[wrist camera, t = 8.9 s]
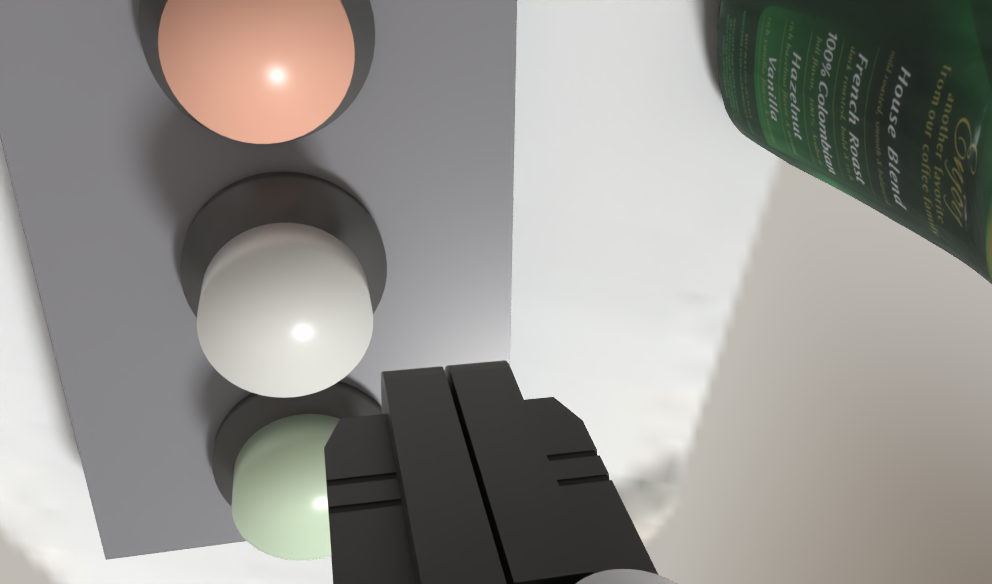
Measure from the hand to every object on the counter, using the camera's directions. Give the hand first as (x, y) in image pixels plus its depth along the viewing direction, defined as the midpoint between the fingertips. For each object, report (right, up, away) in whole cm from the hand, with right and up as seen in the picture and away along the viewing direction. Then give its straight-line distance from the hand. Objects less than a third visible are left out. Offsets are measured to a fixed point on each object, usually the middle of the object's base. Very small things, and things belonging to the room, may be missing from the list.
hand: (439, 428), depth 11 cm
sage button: (-6, -4, +19) cm, 20 cm away
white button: (-5, +1, +15) cm, 16 cm away
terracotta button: (-5, +8, +12) cm, 16 cm away
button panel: (-6, +4, +19) cm, 21 cm away
